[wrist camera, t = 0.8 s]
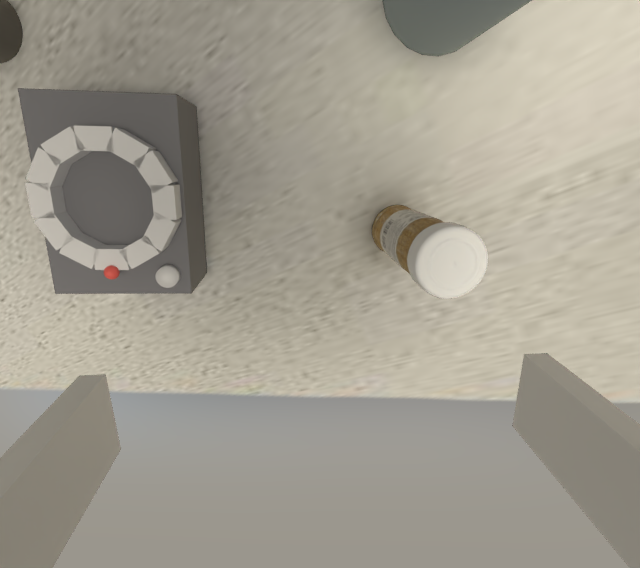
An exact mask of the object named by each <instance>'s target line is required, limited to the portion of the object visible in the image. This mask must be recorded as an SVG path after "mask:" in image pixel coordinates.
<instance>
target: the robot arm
mask: <svg viewBox="0 0 640 568" xmlns="http://www.w3.org/2000/svg"><path fill="white" fill-rule="evenodd" d="M512 426H513V427H514V428H515V430H516V431H517V432H518V433H519V434H520V436H521V437H522V438H523V439H524V440H525V442H526V443H527V444H528V445H529V447H530V448H531V449H532V450H533V451H534V452H535V454H536V455H537V456H538V457H539V459H540V460H541V461H542V462H543V463H544V465H545V466H546V467H547V468H548V470H549V471H550V472H551V473H552V474H553V476H554V477H555V478H556V479H557V480H558V482H559V483H560V484H561V485H562V486H563V488H564V489H565V490H566V491H567V493H568V494H569V495H570V496H571V497H572V499H573V500H574V501H575V502H576V503H577V505H578V506H579V507H580V508H581V509H582V511H583V512H584V513H585V514H586V516H587V517H588V518H589V519H590V520H591V522H592V523H593V524H594V525H595V526H596V528H597V529H598V530H599V531H600V533H601V534H602V535H603V536H604V537H605V539H606V540H607V541H608V542H609V543H610V544H611V546H612V547H613V548H614V550H615V551H616V552H617V553H618V554H619V556H620V557H621V558H622V559H623V560H624V562H625V563H626V564H627V565H628V566H629V568H640V424H639V423H637V422H636V421H635V420H633V419H632V418H631V417H629V416H628V415H627V414H625V413H624V412H623V411H622V410H620V409H619V408H617V407H616V406H615V405H614V404H612V403H611V402H610V401H609V400H607V399H606V398H605V397H603V396H602V395H601V394H599V393H598V392H597V391H596V390H594V389H593V388H592V387H590V386H589V385H588V384H586V383H585V382H584V381H582V380H581V379H580V378H579V377H577V376H576V375H575V374H573V373H572V372H571V371H569V370H568V369H567V368H566V367H564V366H563V365H562V364H560V363H559V362H558V361H556V360H555V359H554V358H552V357H551V356H550V355H549V354H547V353H541V354H524V358H523V364H522V370H521V376H520V383H519V389H518V395H517V401H516V407H515V413H514V419H513V425H512ZM120 450H121V447H120V442H119V437H118V432H117V428H116V423H115V418H114V413H113V408H112V403H111V398H110V394H109V389H108V384H107V379H106V374H105V375H84V376H79V377H78V378H77V379H76V380H75V381H74V382H73V383H72V384H71V385H70V386H69V387H68V388H67V389H66V390H65V391H64V392H63V393H62V394H61V395H60V397H58V399H57V400H55V402H54V403H53V404H52V405H51V406H50V407H49V408H48V409H47V410H46V411H45V412H44V413H43V414H42V415H41V416H40V417H39V418H38V419H37V420H36V421H35V422H34V423H33V425H31V426H30V427H29V429H28V430H27V431H26V432H25V433H24V434H23V435H22V436H21V437H20V438H19V439H18V440H17V441H16V442H15V443H14V444H13V445H12V446H11V447H10V448H9V449H8V450H7V451H6V452H5V453H4V455H3V456H2V457H1V458H0V568H53V566H54V564H55V563H56V561H57V559H58V558H59V556H60V554H61V552H62V551H63V549H64V547H65V545H66V544H67V542H68V540H69V539H70V537H71V535H72V533H73V532H74V530H75V528H76V526H77V525H78V523H79V521H80V519H81V518H82V516H83V514H84V513H85V511H86V509H87V507H88V506H89V504H90V502H91V500H92V499H93V497H94V495H95V493H96V492H97V490H98V488H99V487H100V485H101V483H102V481H103V480H104V478H105V476H106V474H107V473H108V471H109V469H110V468H111V466H112V464H113V462H114V461H115V459H116V457H117V455H118V454H119V452H120Z"/></svg>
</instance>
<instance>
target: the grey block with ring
mask: <svg viewBox="0 0 640 568" xmlns="http://www.w3.org/2000/svg"><path fill="white" fill-rule="evenodd" d="M18 92H19V97H20V103H21V108H22V114H23V119H24V125H25V130H26V136H27V141H28V147H29V152H30V158H31V166H30V168H29V171H28V173H27V176H26V178H25V179H26V180H28V181H30V182H28V183H25V186H26V192H27V197H28V202H29V207H30V213H31V218H38V219H36V220H35V221H33V222H34V223H35V224H36V226H37V227H38V228H39V229H40V231H41V232H42V233H43V235H44V236H45V240H46V245H47V251H48V256H49V261H50V267H51V272H52V278H53V283H54V289H55V294H97V293H192V292H193V291H194V289H195V288H196V287H197V285H198V284H199V283H200V281H201V280H202V279H203V277H204V276H205V275H206V273H207V265H206V250H205V234H204V218H203V202H202V186H201V170H200V154H199V138H198V123H197V107H196V106H195V105H193V104H192V103H190V102H188V101H187V100H185V99H183V98H182V97H180V96H179V95H177V94H158V93H131V92H104V91H78V90H51V89H24V88H18Z"/></svg>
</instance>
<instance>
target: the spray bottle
mask: <svg viewBox="0 0 640 568" xmlns="http://www.w3.org/2000/svg"><path fill="white" fill-rule="evenodd" d="M530 1H532V0H383V4H384V9H385V15H386V18H387V20H388V22H389V24H390V26H391V28H392V31H393V33H394V34H395V35H396V36H397V38H398V39H399V40H400V41H401V42H402V43H403V44H404V45H405V46H406V47H408V48H410V49H412V50H414V51H416V52H418V53H420V54H422V55H432V56H441V55H444V54H448V53H452V52H455V51H457V50H458V49H460V48H461V47H463V46H464V45H466V44H467V43H469V42H470V41H472V40H473V39H475V38H476V37H478V36H479V35H481V34H482V33H484V32H485V31H487V30H488V29H490V28H491V27H493V26H494V25H496V24H497V23H499V22H500V21H502V20H503V19H505V18H506V17H508V16H509V15H511V14H512V13H514V12H515V11H517V10H518V9H520V8H521V7H523V6H524V5H526V4H527V3H529V2H530Z"/></svg>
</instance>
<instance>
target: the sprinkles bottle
mask: <svg viewBox="0 0 640 568" xmlns="http://www.w3.org/2000/svg"><path fill="white" fill-rule="evenodd" d="M372 235H373V239H374V241H375V243H376V245H377V246H378V247H379V248H380V249H381V250H382V251H384V252H386V253H387V254H388V255H389V256H390V257H391V258H392V259H393V260H394V261H395V262H396V263H397V264H398V265H400V266H401V267H402V268H403V269H405V270H406V271H407V272H408V273H409V274H410V275H411V277H412V278H413V280H414V281H415V282H416V283H417V284H418V285H419V286H420V287H421V288H422V289H423V290H425V291H426V292H427V293H429V294H431V295H433V296H435V297H438V298H444V299H452V298H457V297H460V296H463V295H465V294H467V293H468V292H470V291H471V290H473V289H474V288H475V287H476V286H477V285H478V284H479V282H480V281H481V280H482V278H483V276H484V274H485V272H486V269H487V264H488V253H487V248H486V246H485V243H484V242H483V240H482V239H481V237H480V236H479V235H478V234H477V233H476V232H474V231H473V230H471V229H469V228H467V227H464V226H462V225H459V224H456V223H451V222H443V221H441V220H439V219H436V218H434V217H431V216H428V215H425V214H423V213H420V212H418V211H415V210H412V209H410V208H408V207H406V206H402V205H393V206H390V207H387V208H386V209H384V210H383V211H381V212H380V213H379V214H378V215H377V217H376V219H375V221H374V224H373V227H372Z"/></svg>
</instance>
